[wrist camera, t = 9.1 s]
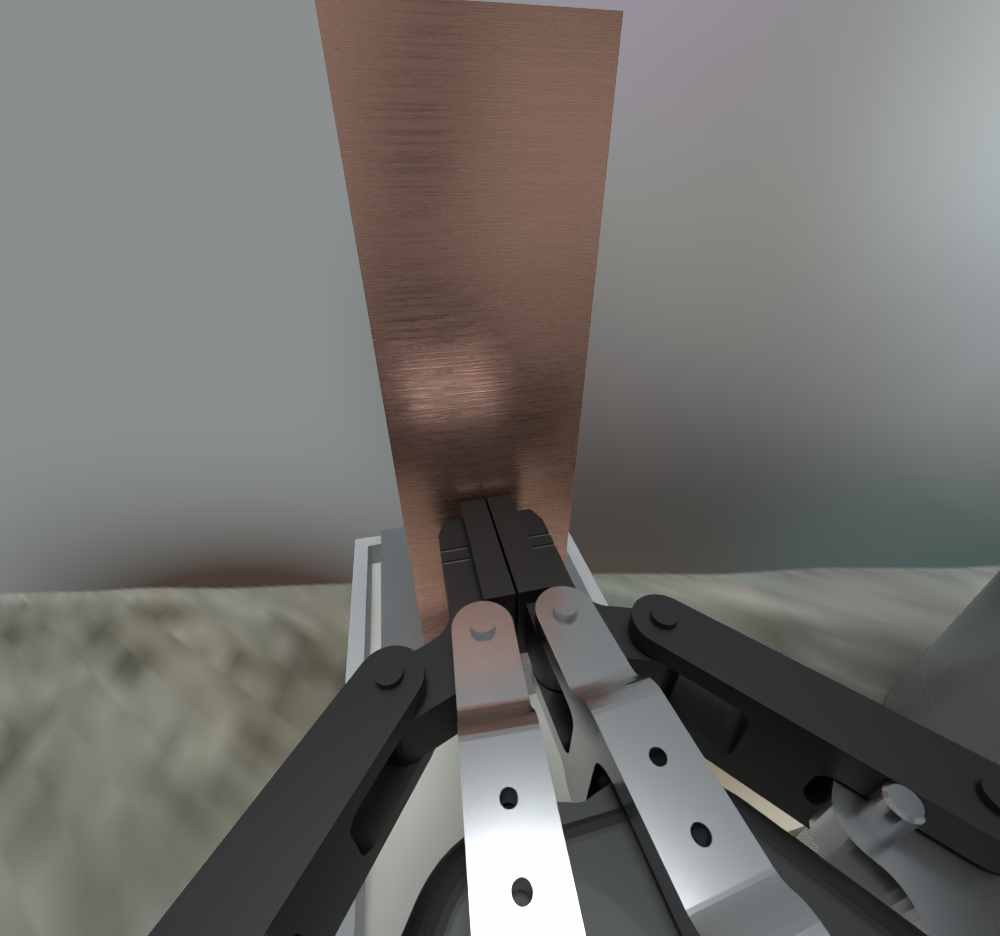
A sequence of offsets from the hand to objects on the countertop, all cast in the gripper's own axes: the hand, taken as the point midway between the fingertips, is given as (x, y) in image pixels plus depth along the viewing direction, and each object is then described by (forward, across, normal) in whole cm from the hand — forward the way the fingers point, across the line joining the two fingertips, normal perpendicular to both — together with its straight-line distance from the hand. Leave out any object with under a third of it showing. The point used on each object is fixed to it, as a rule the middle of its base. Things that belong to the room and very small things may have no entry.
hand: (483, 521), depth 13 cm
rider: (+2, 0, +7) cm, 8 cm away
